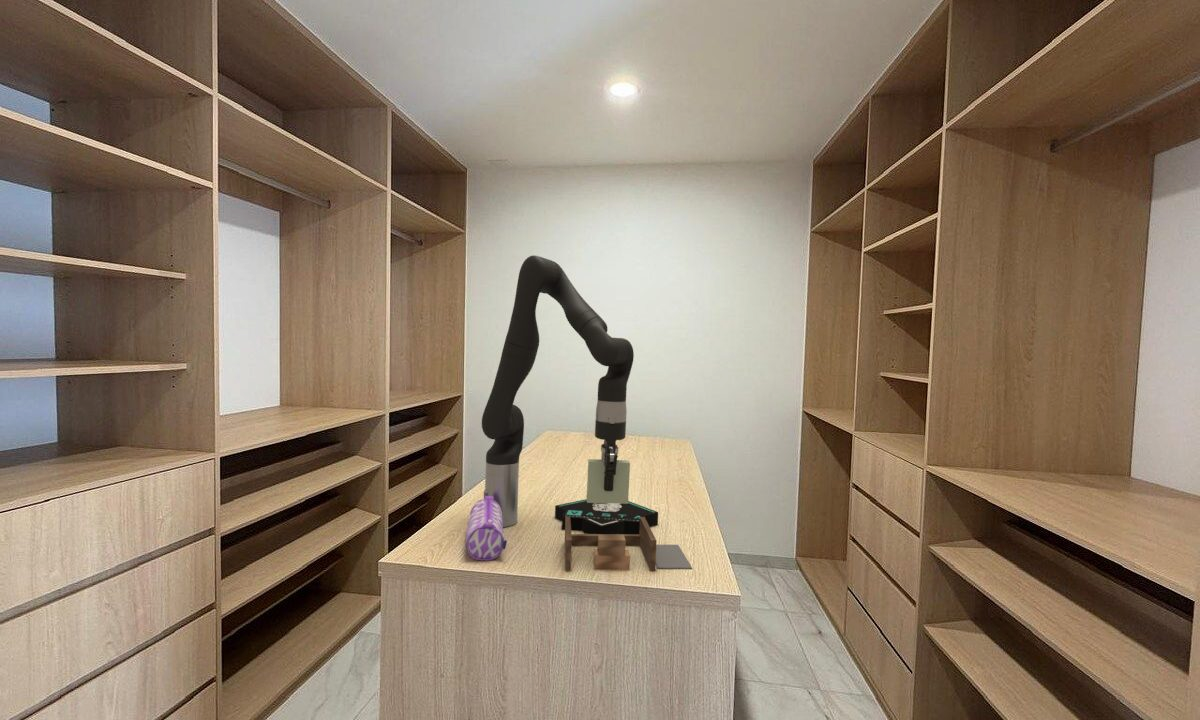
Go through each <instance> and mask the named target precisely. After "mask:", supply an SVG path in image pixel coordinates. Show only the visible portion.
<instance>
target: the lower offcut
mask: <svg viewBox="0 0 1200 720" xmlns="http://www.w3.org/2000/svg"><path fill="white" fill-rule="evenodd" d="M593 553H594V554H593V568H594V569H593V570H597V571H600V570H601V571H608V570H609V571H630V570H631V569H630V568H631V567H630V565H631V564H630V563H631V554H630V551H629V549H625V556H599V555H598V548H596V549H594V550H593Z"/></svg>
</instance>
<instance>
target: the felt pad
mask: <svg viewBox="0 0 1200 720" xmlns="http://www.w3.org/2000/svg"><path fill="white" fill-rule="evenodd" d="M679 545H680V544H656V568H657V570H676V569H677V570H692V569H693V567H692V565H691V563H690V562H689V560H688V558H687V556H685V553H684V551H683V550H682V548H681V547H680V546H679Z"/></svg>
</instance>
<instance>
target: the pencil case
mask: <svg viewBox="0 0 1200 720" xmlns="http://www.w3.org/2000/svg"><path fill="white" fill-rule="evenodd" d="M493 499H494V496H485V499H484V498H483V499H480V500H476V502H475V503H474V504H473V505H472V508H471V509H470V511H469V512H470V513H469V518H468V521H467V526H466V532H465V540H466V541H465V542H466V543H465V544H466V551H467V552H468V555H469V556H470V557H471V558H473V559H474V560H476V561H479V560H481V561H483V560H485V561H491V560H495V559H497V558H498V557H499V556H500V554H501V553H502V552H503V550H506V547H507V543H508V541H507V540H505V536H504V527H503V517H502V512H501V508H500V506H499V504H498V503H497V502H496V501H494V500H493ZM483 562H484V561H483Z"/></svg>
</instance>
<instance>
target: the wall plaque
mask: <svg viewBox="0 0 1200 720" xmlns="http://www.w3.org/2000/svg"><path fill="white" fill-rule="evenodd" d="M554 508H555V509H554V519H555V520H558V521H560V522H561V521H562V522H561V531H565V516H568V517H570V522H571V532H581V533H583V534H639V530H640V517H645V519H646V521H647V523H648V525H649V527H650V528H653V527H656V526H658V525H659V524H658V523H659V511H656V510H654V509H651V508H648V507H645V506H643V505H641V504H638V503H635V502H632V501H630V500H628V504H621V503H587V498H586V499H581V500H575V501H572V502H566V503H561V504H557V505H554Z"/></svg>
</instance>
